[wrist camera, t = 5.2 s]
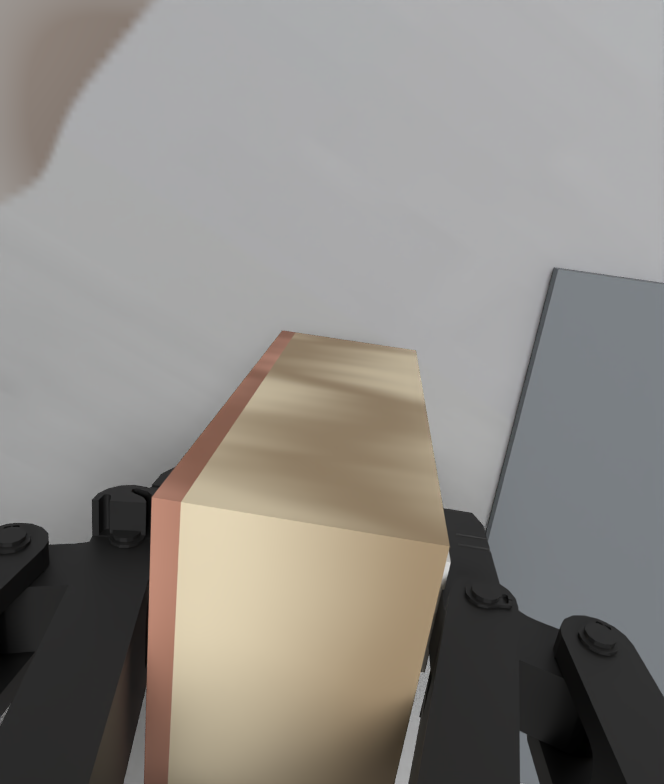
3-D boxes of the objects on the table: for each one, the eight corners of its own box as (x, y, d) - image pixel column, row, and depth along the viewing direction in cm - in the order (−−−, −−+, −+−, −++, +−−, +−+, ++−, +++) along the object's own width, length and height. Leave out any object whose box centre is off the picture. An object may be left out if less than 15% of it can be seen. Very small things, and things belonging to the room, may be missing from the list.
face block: (261, 531, 19) (142, 846, 10) (282, 330, 17) (151, 497, 8) (378, 550, 19) (368, 891, 10) (415, 350, 17) (449, 546, 8)
